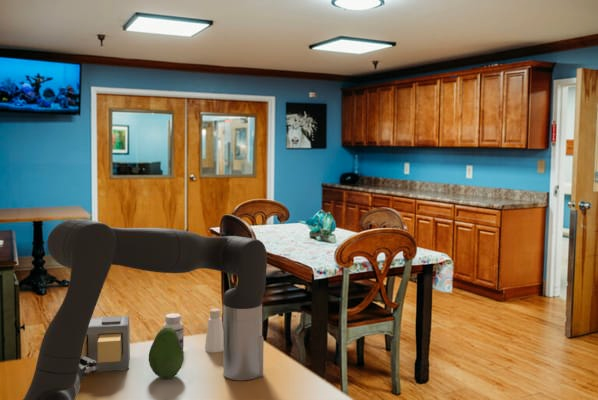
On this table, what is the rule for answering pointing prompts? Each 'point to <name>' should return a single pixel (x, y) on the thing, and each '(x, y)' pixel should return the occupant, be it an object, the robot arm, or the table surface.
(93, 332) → the console
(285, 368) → the table surface
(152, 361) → the fruit
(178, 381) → the table surface
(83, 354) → the button
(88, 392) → the table surface
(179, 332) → the pill bottle
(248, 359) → the robot arm
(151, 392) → the table surface
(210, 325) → the pepper shaker
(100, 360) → the button
